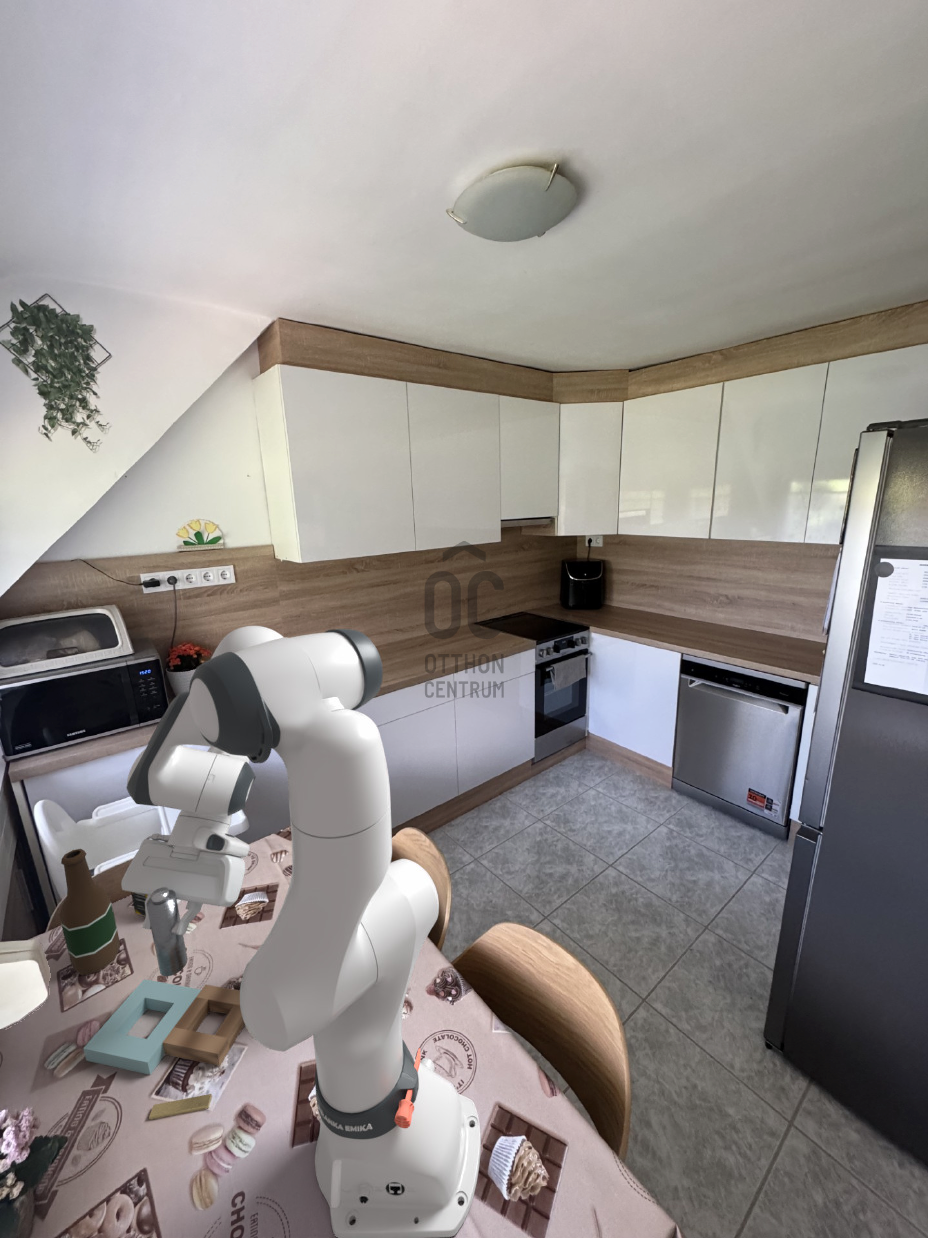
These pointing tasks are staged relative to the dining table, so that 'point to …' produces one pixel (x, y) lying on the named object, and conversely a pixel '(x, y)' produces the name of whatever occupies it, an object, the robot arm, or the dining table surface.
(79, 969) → the beer bottle
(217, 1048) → the socket block
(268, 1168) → the dining table surface
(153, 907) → the silver metal cylinder
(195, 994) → the block
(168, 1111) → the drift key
